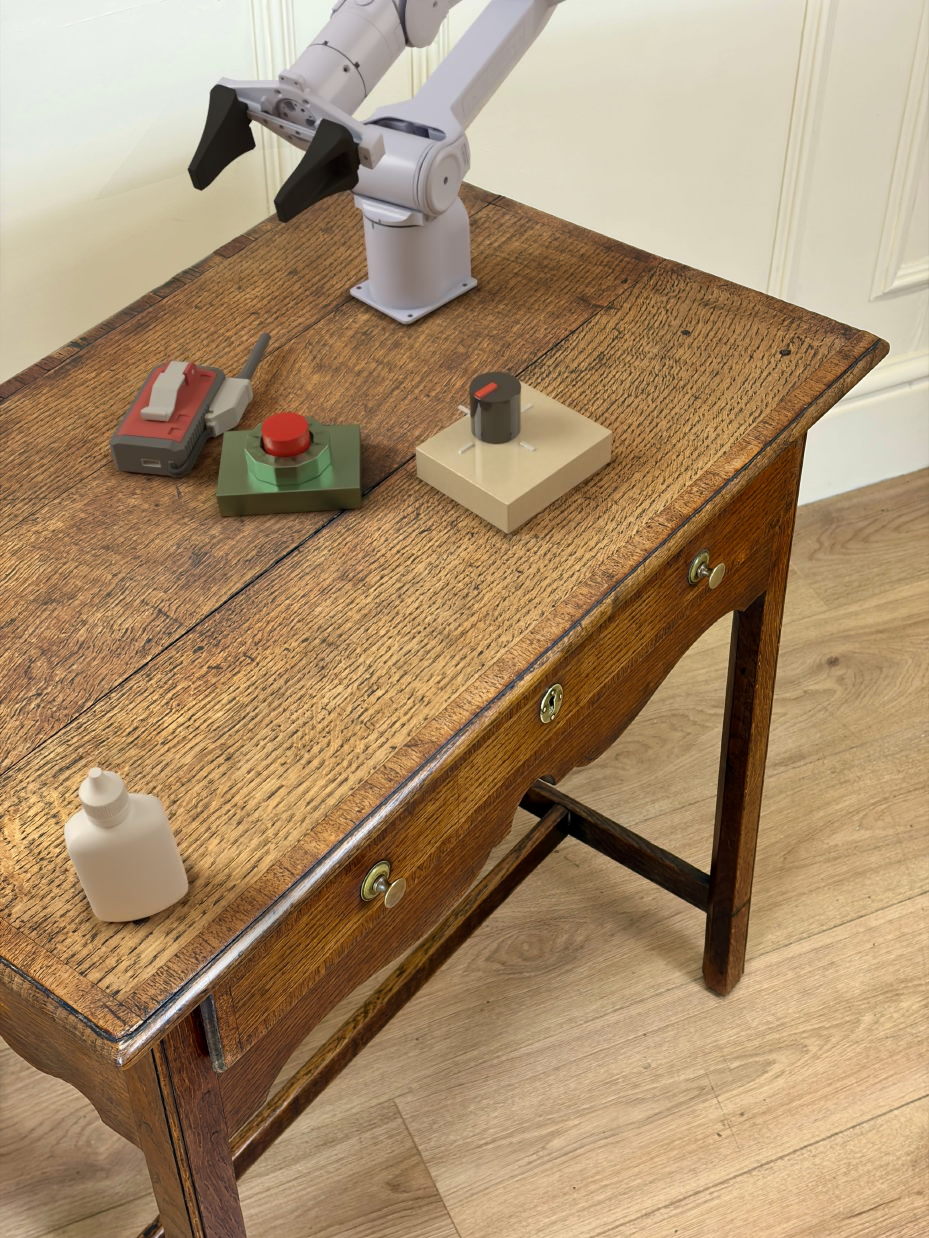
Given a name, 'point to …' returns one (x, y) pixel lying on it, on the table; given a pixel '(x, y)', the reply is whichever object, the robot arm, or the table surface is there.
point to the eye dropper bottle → (124, 850)
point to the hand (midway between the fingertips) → (236, 196)
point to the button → (286, 434)
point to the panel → (515, 461)
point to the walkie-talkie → (181, 414)
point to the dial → (495, 407)
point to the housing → (291, 473)
